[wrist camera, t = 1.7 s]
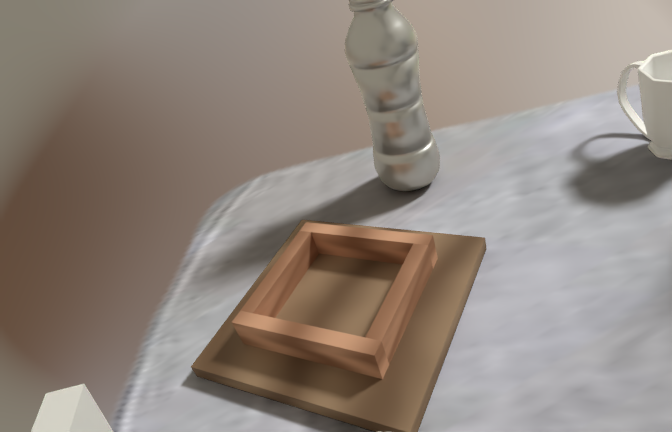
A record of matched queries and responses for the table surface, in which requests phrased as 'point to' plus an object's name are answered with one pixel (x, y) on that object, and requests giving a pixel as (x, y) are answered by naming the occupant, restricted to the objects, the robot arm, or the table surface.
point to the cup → (652, 101)
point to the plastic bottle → (392, 94)
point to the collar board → (349, 323)
